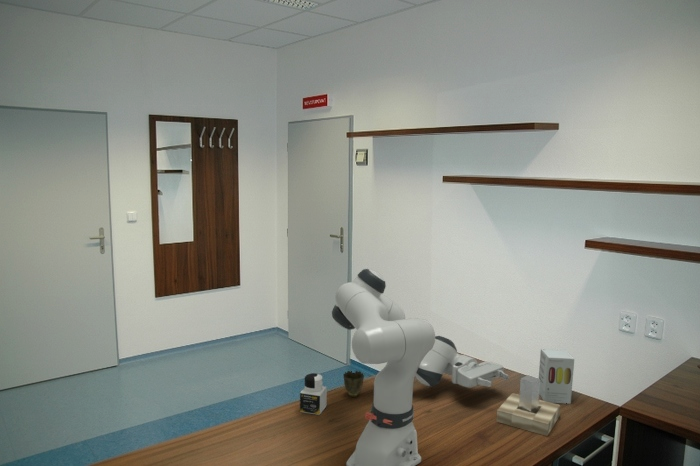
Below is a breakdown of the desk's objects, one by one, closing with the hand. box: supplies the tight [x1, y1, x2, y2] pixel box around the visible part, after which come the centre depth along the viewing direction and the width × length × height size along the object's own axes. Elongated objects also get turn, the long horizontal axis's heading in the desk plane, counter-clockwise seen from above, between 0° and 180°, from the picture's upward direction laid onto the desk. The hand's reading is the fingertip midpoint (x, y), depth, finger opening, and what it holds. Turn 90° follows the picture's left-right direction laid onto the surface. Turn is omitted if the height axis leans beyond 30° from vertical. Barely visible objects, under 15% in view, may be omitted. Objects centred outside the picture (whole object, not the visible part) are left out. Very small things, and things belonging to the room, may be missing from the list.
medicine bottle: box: [299, 372, 328, 416], centre depth 178 cm, size 7×7×12 cm
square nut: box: [496, 392, 561, 437], centre depth 174 cm, size 16×16×4 cm
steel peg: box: [519, 374, 540, 414], centre depth 173 cm, size 4×4×14 cm
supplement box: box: [538, 348, 575, 405], centre depth 189 cm, size 10×9×17 cm
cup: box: [343, 370, 365, 398], centre depth 189 cm, size 8×7×8 cm
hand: (499, 381), depth 182 cm, fingers open, 8 cm apart
